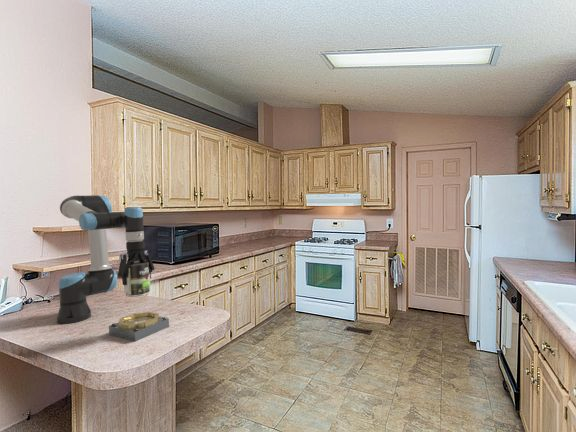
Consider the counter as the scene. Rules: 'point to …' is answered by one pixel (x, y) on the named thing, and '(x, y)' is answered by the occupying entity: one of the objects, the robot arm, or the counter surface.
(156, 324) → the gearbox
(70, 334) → the counter surface
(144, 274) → the coffee can
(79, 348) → the counter surface
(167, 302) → the counter surface
